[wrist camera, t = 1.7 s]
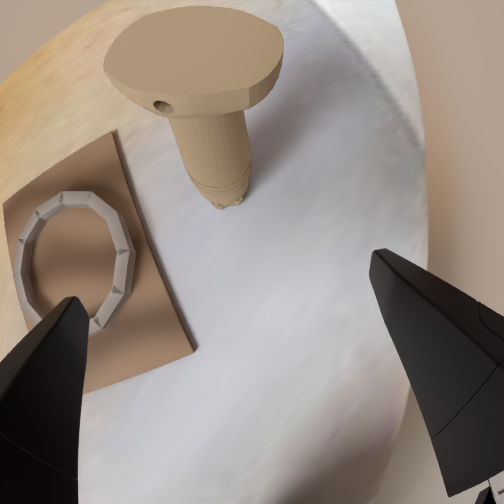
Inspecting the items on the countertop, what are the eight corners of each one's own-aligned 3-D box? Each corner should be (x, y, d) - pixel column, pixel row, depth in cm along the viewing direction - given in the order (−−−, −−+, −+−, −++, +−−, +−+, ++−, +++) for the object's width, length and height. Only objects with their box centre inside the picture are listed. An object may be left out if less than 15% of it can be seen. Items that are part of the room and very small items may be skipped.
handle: (198, 154, 24) (145, 5, 9) (275, 174, 23) (297, 19, 9) (176, 208, 23) (81, 86, 8) (256, 232, 23) (258, 111, 8)
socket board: (194, 352, 21) (189, 356, 20) (59, 401, 21) (48, 406, 19) (113, 133, 24) (105, 124, 23) (5, 204, 24) (-6, 199, 22)
